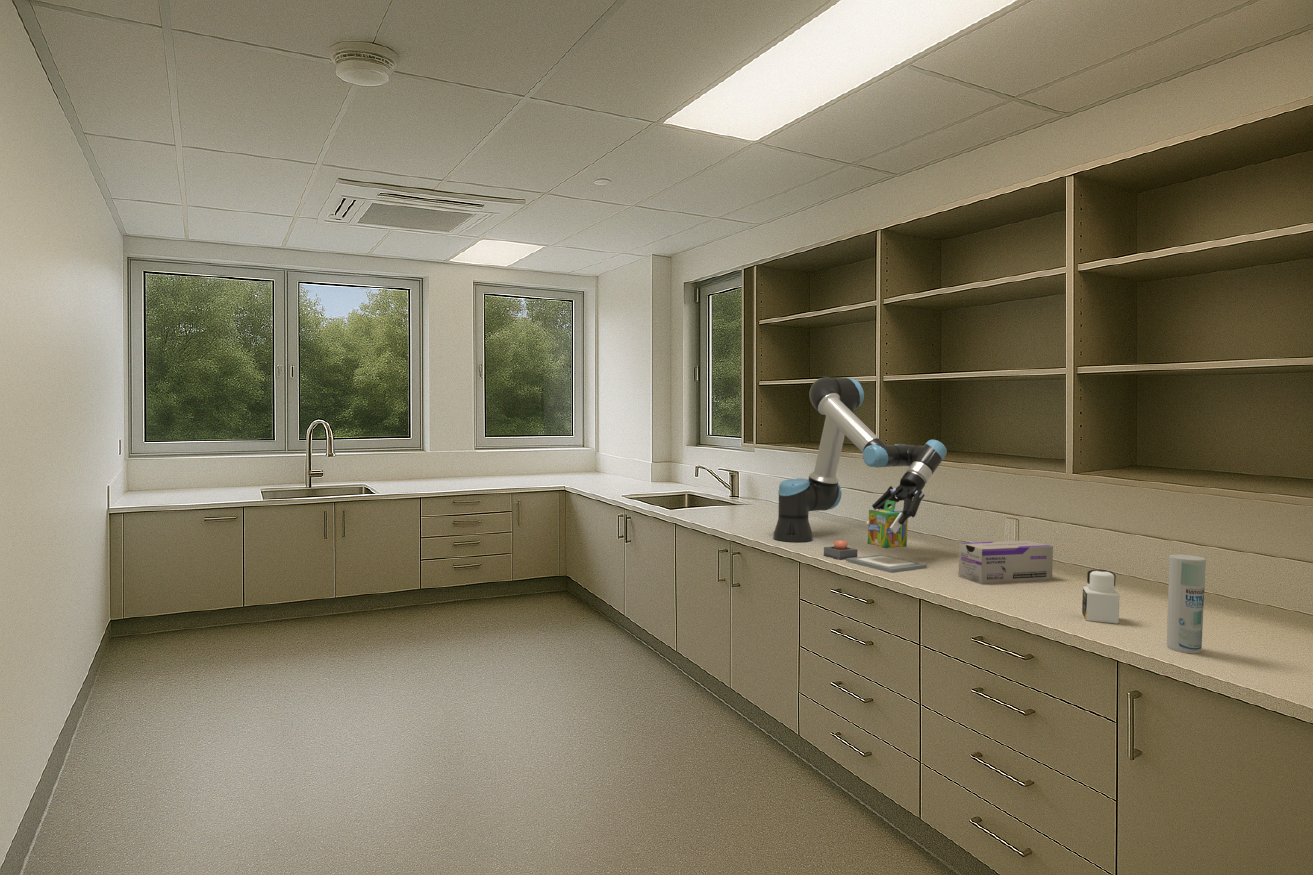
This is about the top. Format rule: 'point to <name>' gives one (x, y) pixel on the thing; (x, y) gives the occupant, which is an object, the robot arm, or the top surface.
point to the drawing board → (886, 563)
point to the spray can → (1185, 603)
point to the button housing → (840, 553)
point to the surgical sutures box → (1005, 562)
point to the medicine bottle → (1100, 597)
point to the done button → (840, 544)
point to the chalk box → (886, 527)
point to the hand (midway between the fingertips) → (880, 528)
